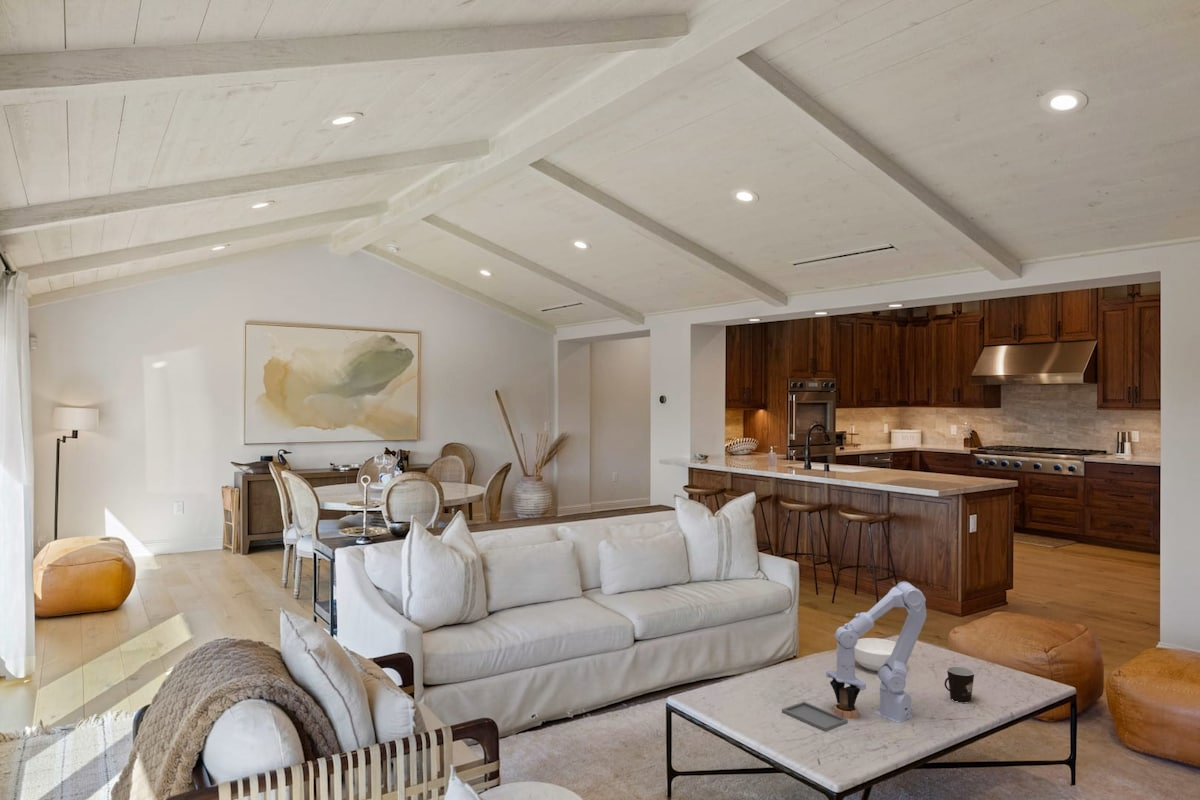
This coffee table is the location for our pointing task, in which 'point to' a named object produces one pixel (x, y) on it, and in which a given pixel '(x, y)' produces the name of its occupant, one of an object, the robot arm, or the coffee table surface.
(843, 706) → the walnut peg
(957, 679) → the coffee mug
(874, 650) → the bowl
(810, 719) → the charcoal tray
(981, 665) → the coffee table surface
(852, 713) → the terracotta cup
